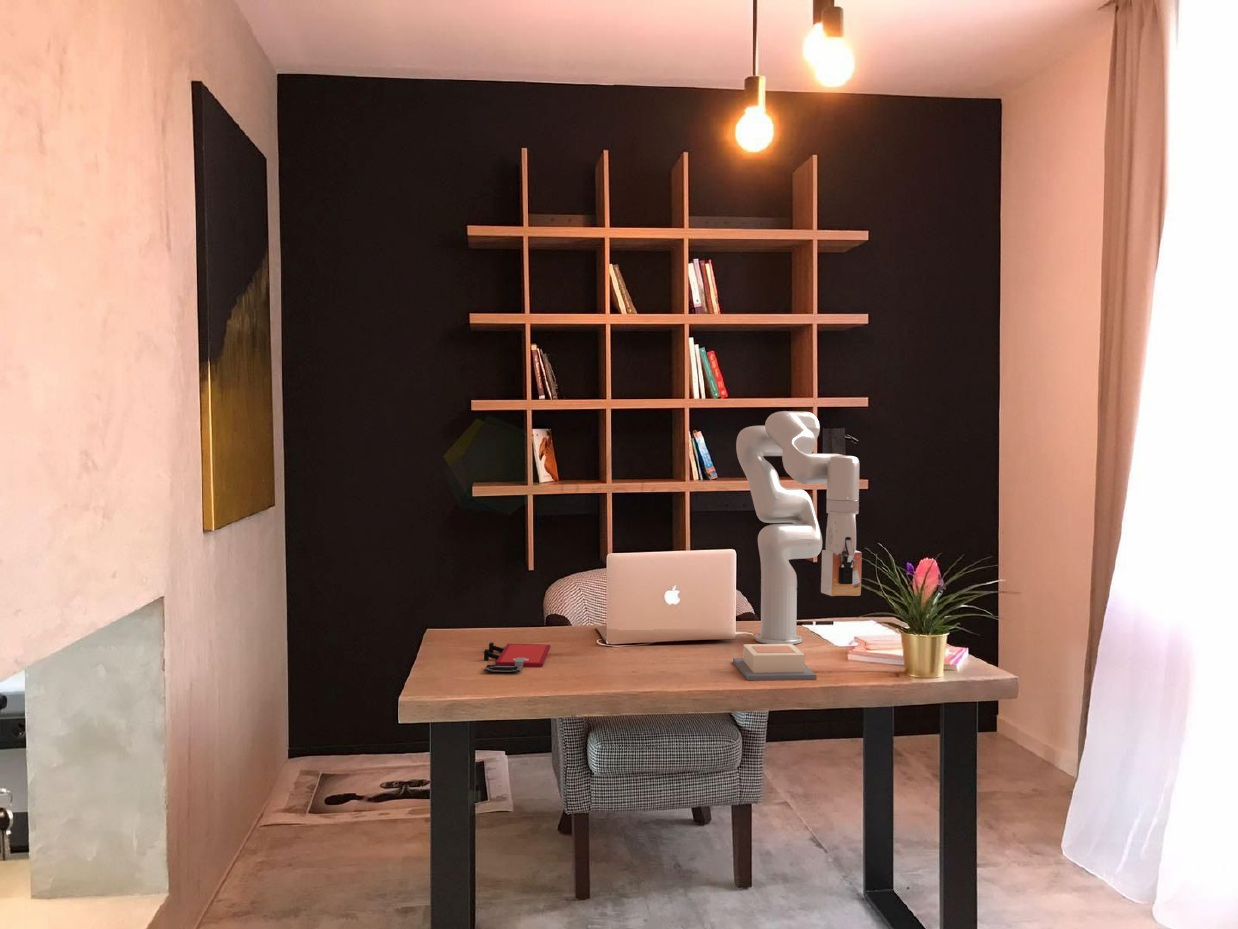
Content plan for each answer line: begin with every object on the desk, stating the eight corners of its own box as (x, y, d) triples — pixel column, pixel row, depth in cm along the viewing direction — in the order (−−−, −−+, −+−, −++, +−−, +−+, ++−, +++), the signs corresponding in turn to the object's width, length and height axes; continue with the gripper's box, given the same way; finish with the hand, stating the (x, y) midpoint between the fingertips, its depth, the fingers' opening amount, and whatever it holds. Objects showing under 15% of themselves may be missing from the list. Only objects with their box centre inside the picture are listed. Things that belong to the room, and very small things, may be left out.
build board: (732, 662, 248) (733, 641, 248) (796, 661, 250) (797, 640, 249) (747, 680, 230) (747, 658, 230) (816, 679, 232) (816, 657, 231)
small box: (831, 596, 239) (832, 552, 239) (820, 592, 245) (821, 549, 244) (861, 595, 241) (862, 551, 241) (850, 591, 247) (851, 548, 246)
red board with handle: (475, 674, 235) (539, 676, 235) (475, 662, 235) (539, 664, 235) (493, 648, 265) (550, 650, 265) (493, 637, 265) (550, 639, 265)
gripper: (817, 504, 250) (816, 576, 251) (837, 510, 233) (836, 587, 234) (847, 504, 251) (845, 575, 252) (869, 510, 234) (867, 587, 234)
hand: (841, 580), depth 243 cm, fingers closed on small box, 6 cm apart
